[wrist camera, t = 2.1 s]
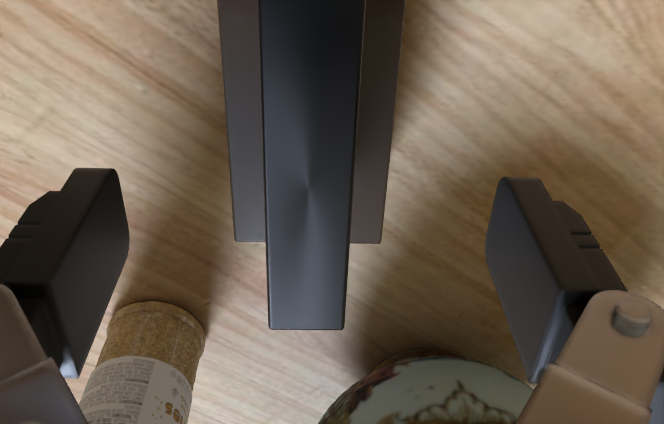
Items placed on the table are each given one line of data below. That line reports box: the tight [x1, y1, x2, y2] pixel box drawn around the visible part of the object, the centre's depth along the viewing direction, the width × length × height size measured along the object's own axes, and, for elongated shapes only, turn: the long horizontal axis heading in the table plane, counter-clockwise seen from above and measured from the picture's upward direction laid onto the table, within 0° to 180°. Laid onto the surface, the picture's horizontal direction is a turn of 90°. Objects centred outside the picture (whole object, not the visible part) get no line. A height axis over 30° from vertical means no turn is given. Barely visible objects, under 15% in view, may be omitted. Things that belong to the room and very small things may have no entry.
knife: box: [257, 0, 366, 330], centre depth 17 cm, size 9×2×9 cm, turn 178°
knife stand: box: [217, 0, 406, 244], centre depth 19 cm, size 11×5×4 cm, turn 178°
